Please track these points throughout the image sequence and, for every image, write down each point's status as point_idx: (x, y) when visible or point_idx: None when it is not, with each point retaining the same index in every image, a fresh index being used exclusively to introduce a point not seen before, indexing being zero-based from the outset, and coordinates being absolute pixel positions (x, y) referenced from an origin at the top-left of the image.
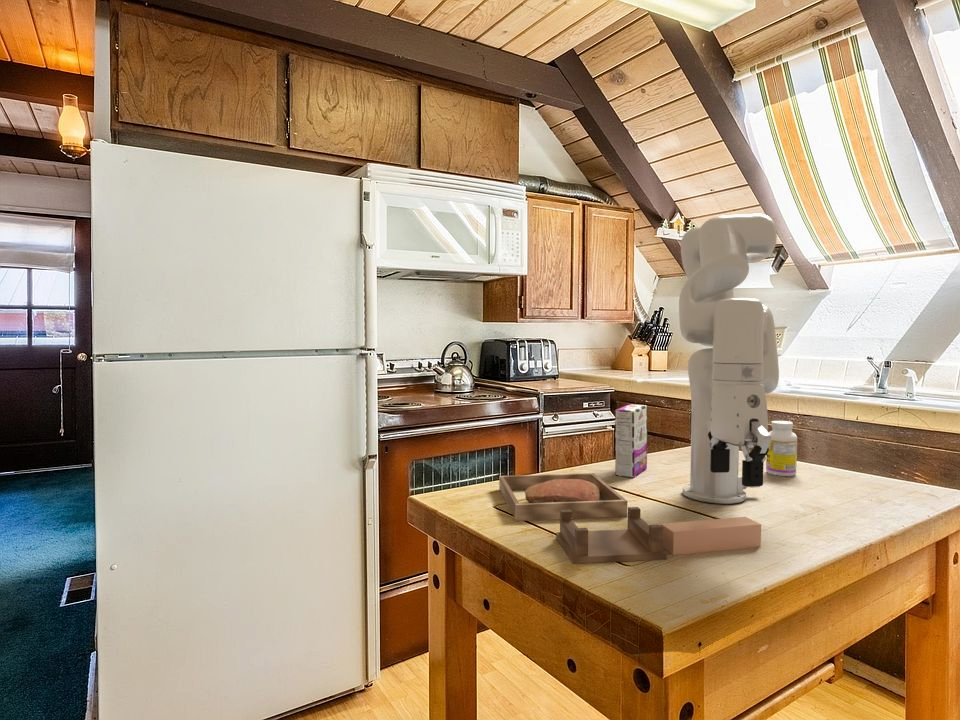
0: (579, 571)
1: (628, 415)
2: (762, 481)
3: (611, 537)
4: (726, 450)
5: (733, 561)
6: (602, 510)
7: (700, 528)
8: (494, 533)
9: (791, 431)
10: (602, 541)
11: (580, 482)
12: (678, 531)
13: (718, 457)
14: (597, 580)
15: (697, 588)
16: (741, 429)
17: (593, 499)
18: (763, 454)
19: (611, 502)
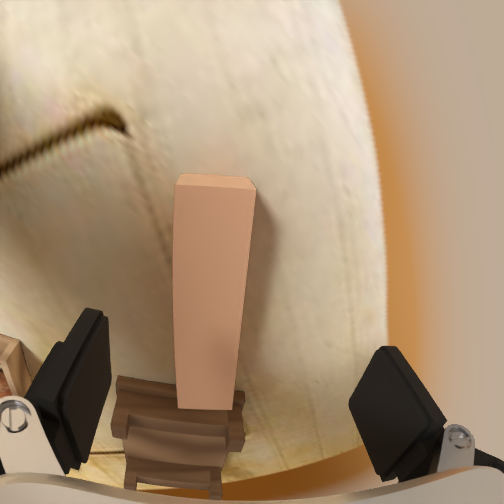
0: (242, 468)
1: None
2: (401, 357)
3: (155, 431)
4: (70, 419)
5: (298, 300)
6: (25, 387)
7: (229, 360)
8: (109, 483)
9: None
10: (171, 444)
11: None
12: (232, 402)
13: (90, 417)
14: (272, 462)
15: (346, 394)
16: None
17: (3, 396)
18: (478, 461)
19: (15, 384)
